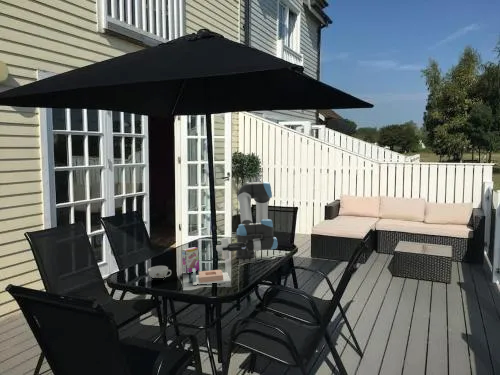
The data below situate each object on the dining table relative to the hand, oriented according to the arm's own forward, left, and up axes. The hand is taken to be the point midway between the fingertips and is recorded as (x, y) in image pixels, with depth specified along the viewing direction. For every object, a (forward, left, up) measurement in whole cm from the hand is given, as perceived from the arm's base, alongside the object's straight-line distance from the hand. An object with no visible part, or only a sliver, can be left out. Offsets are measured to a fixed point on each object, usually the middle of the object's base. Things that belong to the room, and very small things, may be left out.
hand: (216, 248), depth 267 cm
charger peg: (0, +5, -7) cm, 9 cm away
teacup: (-12, -37, -20) cm, 44 cm away
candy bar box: (-25, -17, -20) cm, 36 cm away
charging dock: (-2, -5, -20) cm, 21 cm away
